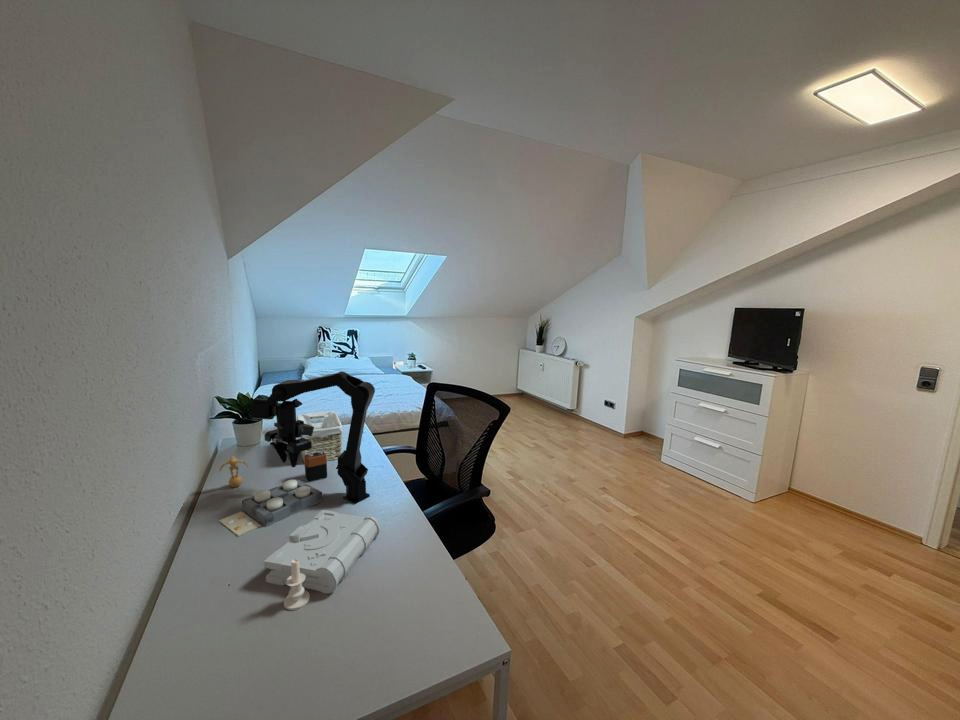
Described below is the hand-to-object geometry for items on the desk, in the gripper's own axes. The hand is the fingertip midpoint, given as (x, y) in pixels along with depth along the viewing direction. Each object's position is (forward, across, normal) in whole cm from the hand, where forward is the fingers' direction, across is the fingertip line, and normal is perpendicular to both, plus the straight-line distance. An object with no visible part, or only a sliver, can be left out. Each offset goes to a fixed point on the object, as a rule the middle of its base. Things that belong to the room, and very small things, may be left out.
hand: (289, 464), depth 127 cm
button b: (+8, 0, 0) cm, 8 cm away
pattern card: (+11, -4, +18) cm, 21 cm away
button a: (+8, -8, 0) cm, 11 cm away
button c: (+8, -8, +9) cm, 14 cm away
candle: (+11, -44, +24) cm, 51 cm away
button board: (+11, -4, +5) cm, 13 cm away
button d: (+8, 0, +9) cm, 12 cm away
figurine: (+11, +20, +9) cm, 24 cm away
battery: (+11, +5, -12) cm, 17 cm away
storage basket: (+11, +24, -27) cm, 38 cm away
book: (+12, -36, +9) cm, 39 cm away
